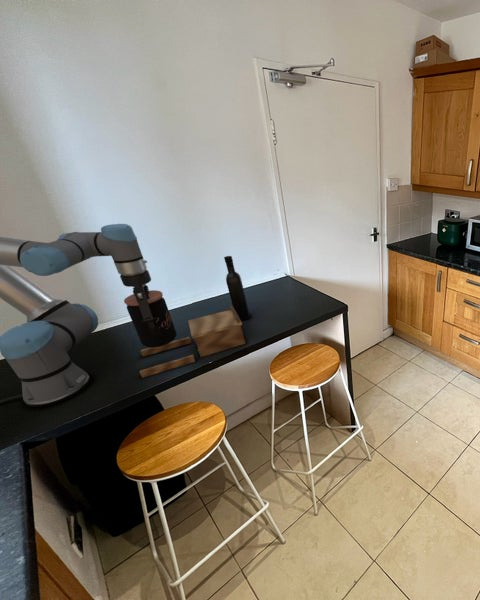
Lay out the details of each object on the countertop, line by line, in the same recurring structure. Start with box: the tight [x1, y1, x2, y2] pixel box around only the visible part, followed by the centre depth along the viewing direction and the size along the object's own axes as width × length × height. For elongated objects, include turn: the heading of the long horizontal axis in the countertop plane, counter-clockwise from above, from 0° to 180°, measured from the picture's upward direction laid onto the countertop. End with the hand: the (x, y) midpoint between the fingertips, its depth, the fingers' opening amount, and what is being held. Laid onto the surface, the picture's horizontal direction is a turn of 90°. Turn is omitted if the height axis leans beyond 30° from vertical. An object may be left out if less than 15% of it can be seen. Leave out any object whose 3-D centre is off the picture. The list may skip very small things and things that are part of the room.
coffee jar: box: [123, 290, 177, 348], centre depth 111 cm, size 11×11×18 cm
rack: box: [139, 304, 246, 379], centre depth 121 cm, size 34×16×12 cm, turn 126°
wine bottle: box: [223, 255, 251, 321], centre depth 140 cm, size 6×6×30 cm
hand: (156, 329), depth 113 cm, fingers closed on coffee jar, 11 cm apart
